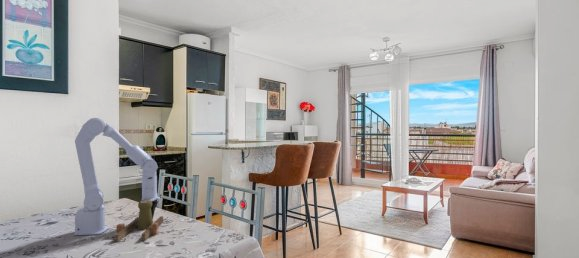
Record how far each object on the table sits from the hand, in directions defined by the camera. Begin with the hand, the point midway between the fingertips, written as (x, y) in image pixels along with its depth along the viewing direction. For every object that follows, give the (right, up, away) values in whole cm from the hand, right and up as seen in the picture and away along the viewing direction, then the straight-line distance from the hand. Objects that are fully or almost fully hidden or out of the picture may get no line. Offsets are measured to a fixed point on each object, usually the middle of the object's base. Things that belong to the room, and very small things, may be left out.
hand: (149, 219), depth 132 cm
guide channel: (+1, -2, -10) cm, 10 cm away
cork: (0, -2, -5) cm, 6 cm away
